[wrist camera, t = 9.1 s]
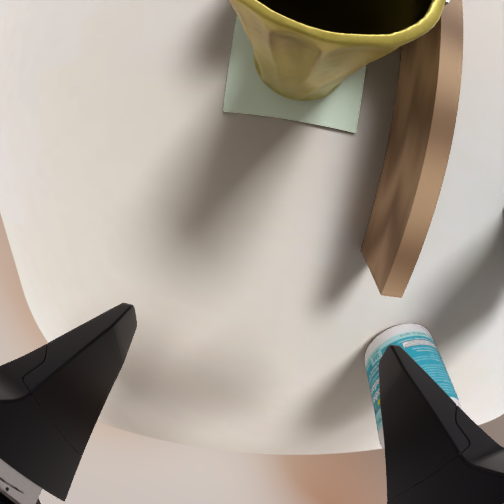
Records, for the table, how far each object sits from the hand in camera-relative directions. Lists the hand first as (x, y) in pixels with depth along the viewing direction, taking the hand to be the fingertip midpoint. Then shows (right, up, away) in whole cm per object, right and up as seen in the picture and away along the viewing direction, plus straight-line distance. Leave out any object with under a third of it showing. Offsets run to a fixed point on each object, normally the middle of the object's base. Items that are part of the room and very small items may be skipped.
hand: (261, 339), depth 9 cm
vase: (+3, +15, +6) cm, 17 cm away
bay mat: (+3, +16, +6) cm, 17 cm away
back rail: (+10, +12, +7) cm, 17 cm away
